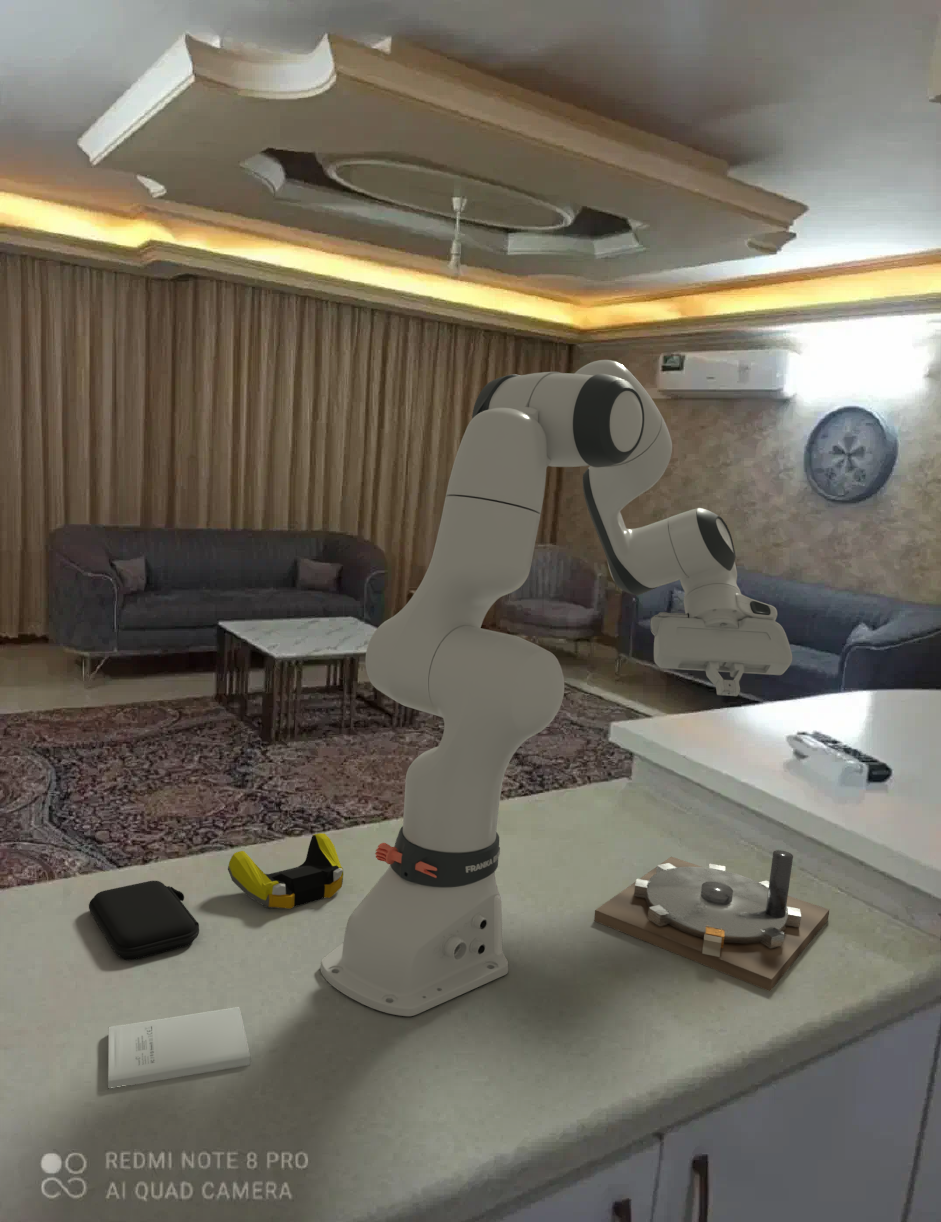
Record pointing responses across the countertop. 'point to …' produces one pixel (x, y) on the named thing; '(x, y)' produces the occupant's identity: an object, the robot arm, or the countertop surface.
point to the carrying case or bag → (143, 919)
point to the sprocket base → (731, 953)
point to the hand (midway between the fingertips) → (728, 693)
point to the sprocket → (722, 902)
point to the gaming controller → (291, 877)
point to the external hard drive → (176, 1047)
